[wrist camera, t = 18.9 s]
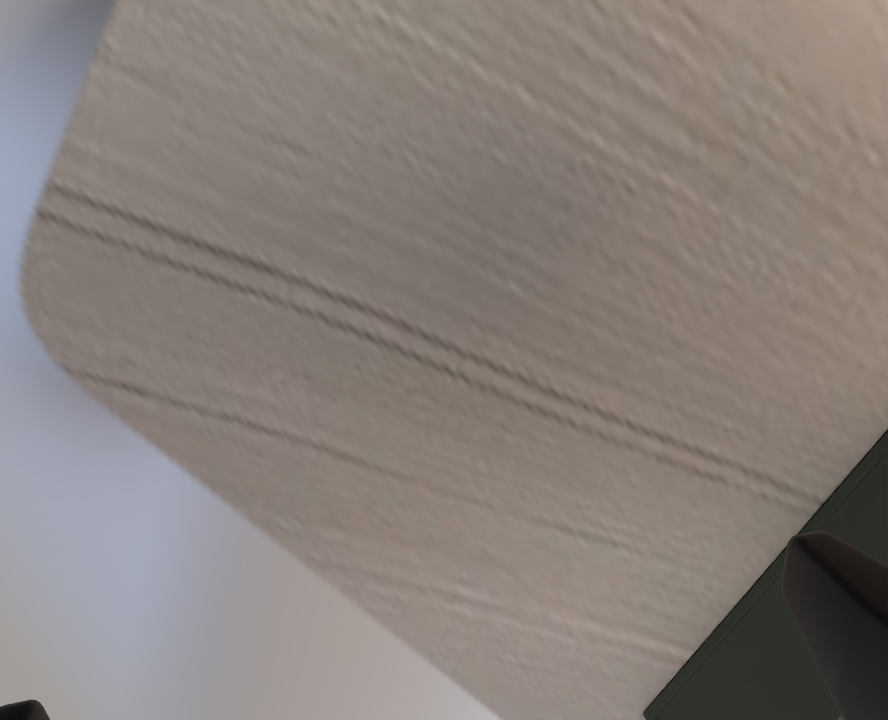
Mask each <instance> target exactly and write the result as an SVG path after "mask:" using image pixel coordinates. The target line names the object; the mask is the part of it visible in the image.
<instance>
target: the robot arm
mask: <svg viewBox="0 0 888 720" xmlns="http://www.w3.org/2000/svg"><path fill="white" fill-rule="evenodd" d="M781 585H782V593H783V596H784V600H785V602H786V604H787V606H788V608H789V610H790V613H791V615H792V617H793V619H794V621H795V623H796V625H797V627H798V629H799V631H800V633H801V635H802V637H803V639H804V641H805V643H806V645H807V647H808V649H809V652H810V654H811V656H812V658H813V660H814V662H815V664H816V666H817V668H818V670H819V672H820V674H821V676H822V678H823V680H824V682H825V684H826V686H827V688H828V691H829V693H830V695H831V697H832V699H833V700H834V702H835V704H836V706H837V708H838V710H839V712H840V714H841V716H842V717H843V719H844V720H888V565H887V564H885V563H883V562H881V561H879V560H877V559H876V558H874V557H872V556H870V555H868V554H866V553H865V552H863V551H861V550H859V549H857V548H856V547H854V546H852V545H850V544H848V543H846V542H845V541H843V540H841V539H839V538H837V537H835V536H834V535H832V534H830V533H828V532H824V531H814V532H809V533H805V534H800V535H795V536H793V537H792V538H791V539H790V540H789V542H788V545H787V551H786V557H785V563H784V569H783V575H782V584H781ZM0 720H50V719H49V717H48V715H47V713H46V711H45V709H44V708H43V706H42V705H41V703H40V702H38V701H36V700H27V701H22V702H18V703H13V704H8V705H4V706H2V707H0Z"/></svg>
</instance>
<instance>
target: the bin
mask: <svg viewBox="0 0 888 720" xmlns="http://www.w3.org/2000/svg"><path fill="white" fill-rule="evenodd" d="M814 531H824V532H828V533H830V534H832V535H834V536H835V537H837V538H839V539H841V540H843V541H845V542H846V543H848V544H850V545H852V546H854V547H856V548H857V549H859V550H861V551H863V552H865V553H866V554H868V555H870V556H872V557H874V558H876V559H877V560H879V561H881V562H883V563H885V564H887V565H888V432H887V433H886V434H885V435H884V436H883V437H882V438H881V440H880V441H879V442H878V443H877V444H876V445H875V447H874V448H873V449H872V450H871V451H870V452H869V453H868V455H867V456H866V457H865V458H864V459H863V460H862V462H861V463H860V464H859V465H858V466H857V467H856V468H855V470H854V471H853V472H852V473H851V474H850V475H849V477H848V478H847V479H846V480H845V481H844V482H843V484H842V485H841V486H840V487H839V488H838V489H837V490H836V492H835V493H834V494H833V495H832V496H831V497H830V499H829V500H828V501H827V502H826V503H825V504H824V505H823V507H822V508H821V509H820V510H819V511H818V512H817V514H816V515H815V516H814V517H813V518H812V519H811V520H810V522H809V523H808V524H807V525H806V526H805V527H804V529H803V530H802V531H801V532H800V533H799V534H798V535H800V534H805V533H809V532H814ZM786 551H787V548H786V549H785V551H784V552H783V553H782V554H781V555H780V556H779V557H778V559H777V560H776V561H775V562H774V563H773V564H772V566H771V567H770V568H769V569H768V570H767V571H766V572H765V574H764V575H763V576H762V577H761V578H760V579H759V581H758V582H757V583H756V584H755V585H754V586H753V588H752V589H751V590H750V591H749V592H748V593H747V594H746V596H745V597H744V598H743V599H742V600H741V601H740V603H739V604H738V605H737V606H736V607H735V608H734V609H733V611H732V612H731V613H730V614H729V615H728V616H727V618H726V619H725V620H724V621H723V622H722V623H721V624H720V626H719V627H718V628H717V629H716V630H715V631H714V633H713V634H712V635H711V636H710V637H709V638H708V640H707V641H706V642H705V643H704V644H703V645H702V646H701V648H700V649H699V650H698V651H697V652H696V653H695V655H694V656H693V657H692V658H691V659H690V660H689V661H688V663H687V664H686V665H685V666H684V667H683V668H682V670H681V671H680V672H679V673H678V674H677V675H676V676H675V678H674V679H673V680H672V681H671V682H670V683H669V685H668V686H667V687H666V688H665V689H664V690H663V692H662V693H661V694H660V695H659V696H658V697H657V698H656V700H655V701H654V702H653V703H652V704H651V705H650V707H649V708H648V709H647V710H646V711H645V712H644V714H643V715H644V717H645V719H646V720H844V719H843V717H842V716H841V714H840V712H839V710H838V708H837V706H836V704H835V702H834V700H833V699H832V697H831V695H830V693H829V691H828V688H827V686H826V684H825V682H824V680H823V678H822V676H821V674H820V672H819V670H818V668H817V666H816V664H815V662H814V660H813V658H812V656H811V654H810V652H809V649H808V647H807V645H806V643H805V641H804V639H803V637H802V635H801V633H800V631H799V629H798V627H797V625H796V623H795V621H794V619H793V617H792V615H791V613H790V610H789V608H788V606H787V604H786V602H785V600H784V596H783V593H782V585H781V584H782V575H783V569H784V563H785V557H786Z"/></svg>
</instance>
